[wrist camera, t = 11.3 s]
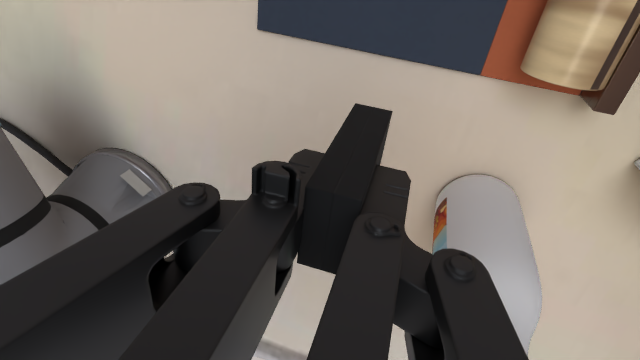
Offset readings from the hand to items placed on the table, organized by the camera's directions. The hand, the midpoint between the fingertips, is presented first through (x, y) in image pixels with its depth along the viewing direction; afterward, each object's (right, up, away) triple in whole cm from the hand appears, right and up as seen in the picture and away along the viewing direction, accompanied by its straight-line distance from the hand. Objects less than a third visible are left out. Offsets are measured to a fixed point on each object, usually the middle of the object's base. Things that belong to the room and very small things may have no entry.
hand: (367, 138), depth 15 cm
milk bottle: (+14, -4, +22) cm, 26 cm away
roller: (+16, +9, +9) cm, 20 cm away
